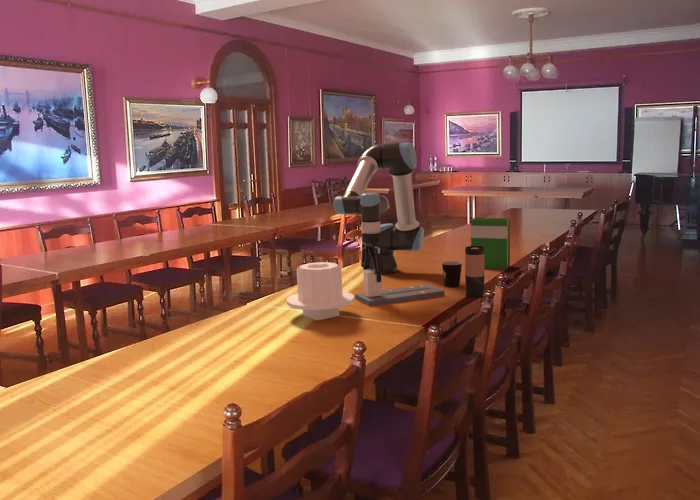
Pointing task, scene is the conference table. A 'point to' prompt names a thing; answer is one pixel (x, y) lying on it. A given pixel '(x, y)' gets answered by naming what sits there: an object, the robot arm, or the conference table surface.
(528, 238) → the conference table surface
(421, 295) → the fader console
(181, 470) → the conference table surface
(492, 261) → the hardback book
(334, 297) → the ribbed cylinder on disc
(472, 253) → the travel mug
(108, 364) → the conference table surface
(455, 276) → the coffee mug
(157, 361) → the conference table surface
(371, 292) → the fader tab
